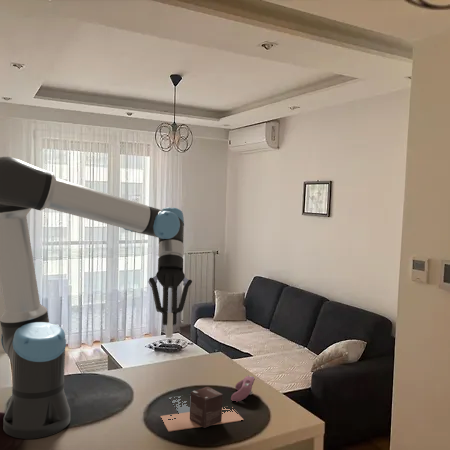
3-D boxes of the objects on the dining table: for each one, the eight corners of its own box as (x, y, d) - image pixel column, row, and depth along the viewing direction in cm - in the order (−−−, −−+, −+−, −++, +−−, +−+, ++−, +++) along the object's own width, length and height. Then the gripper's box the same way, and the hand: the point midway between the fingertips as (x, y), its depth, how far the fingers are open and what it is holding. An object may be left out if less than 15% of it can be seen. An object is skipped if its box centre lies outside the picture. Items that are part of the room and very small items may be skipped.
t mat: (151, 400, 129) (151, 399, 129) (218, 392, 137) (218, 391, 137) (168, 431, 112) (168, 430, 112) (243, 420, 120) (243, 419, 120)
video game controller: (242, 409, 130) (255, 389, 129) (228, 400, 131) (241, 380, 130) (247, 395, 140) (259, 376, 139) (234, 386, 140) (245, 367, 139)
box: (222, 422, 118) (223, 393, 118) (203, 429, 114) (205, 399, 114) (206, 413, 123) (208, 385, 122) (188, 419, 119) (190, 391, 118)
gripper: (189, 262, 145) (189, 339, 136) (147, 260, 142) (144, 338, 132) (194, 254, 138) (194, 334, 129) (150, 251, 135) (147, 333, 126)
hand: (169, 336), depth 131 cm, fingers closed
